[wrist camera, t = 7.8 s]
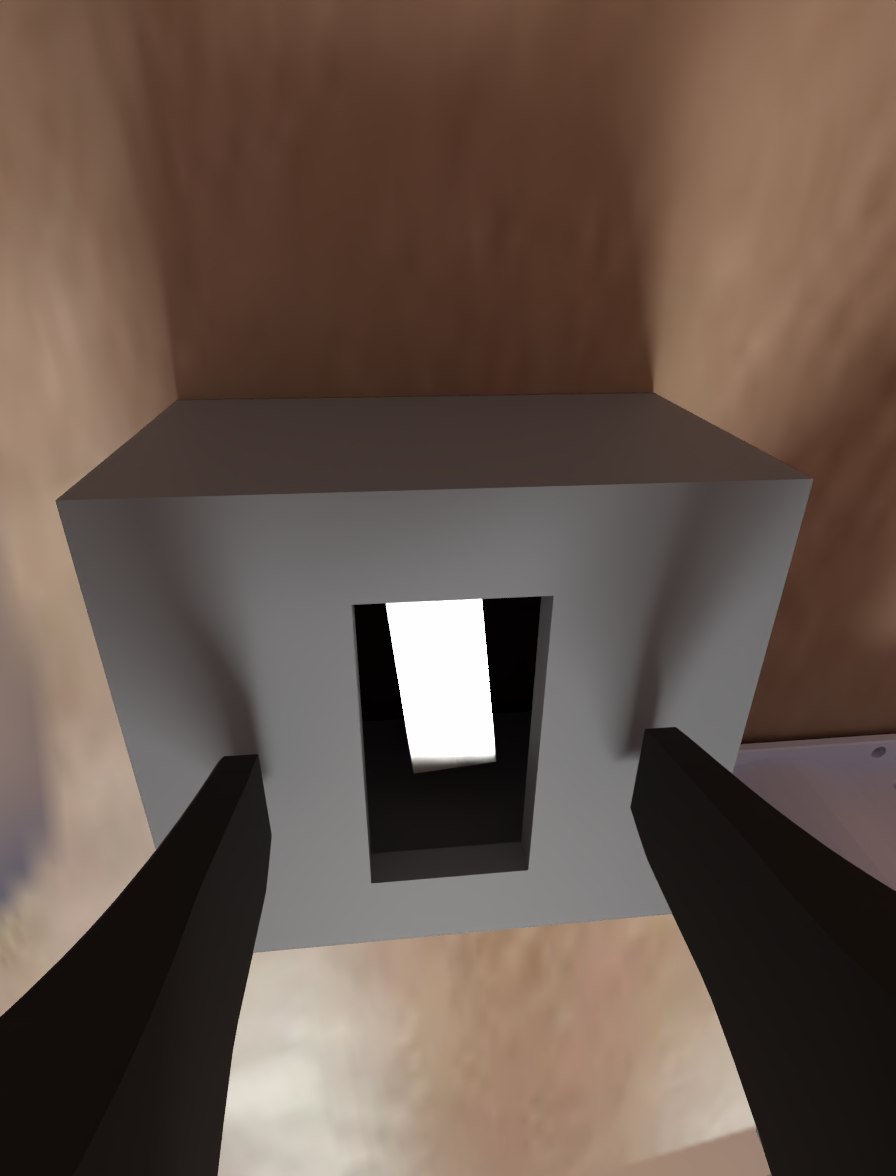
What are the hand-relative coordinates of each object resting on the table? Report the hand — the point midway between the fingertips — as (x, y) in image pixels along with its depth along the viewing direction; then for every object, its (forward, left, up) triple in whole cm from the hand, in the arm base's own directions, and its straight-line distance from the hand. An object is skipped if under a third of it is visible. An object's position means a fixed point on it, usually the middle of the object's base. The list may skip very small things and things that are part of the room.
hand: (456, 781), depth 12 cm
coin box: (0, 0, -8) cm, 8 cm away
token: (0, 0, -8) cm, 8 cm away
